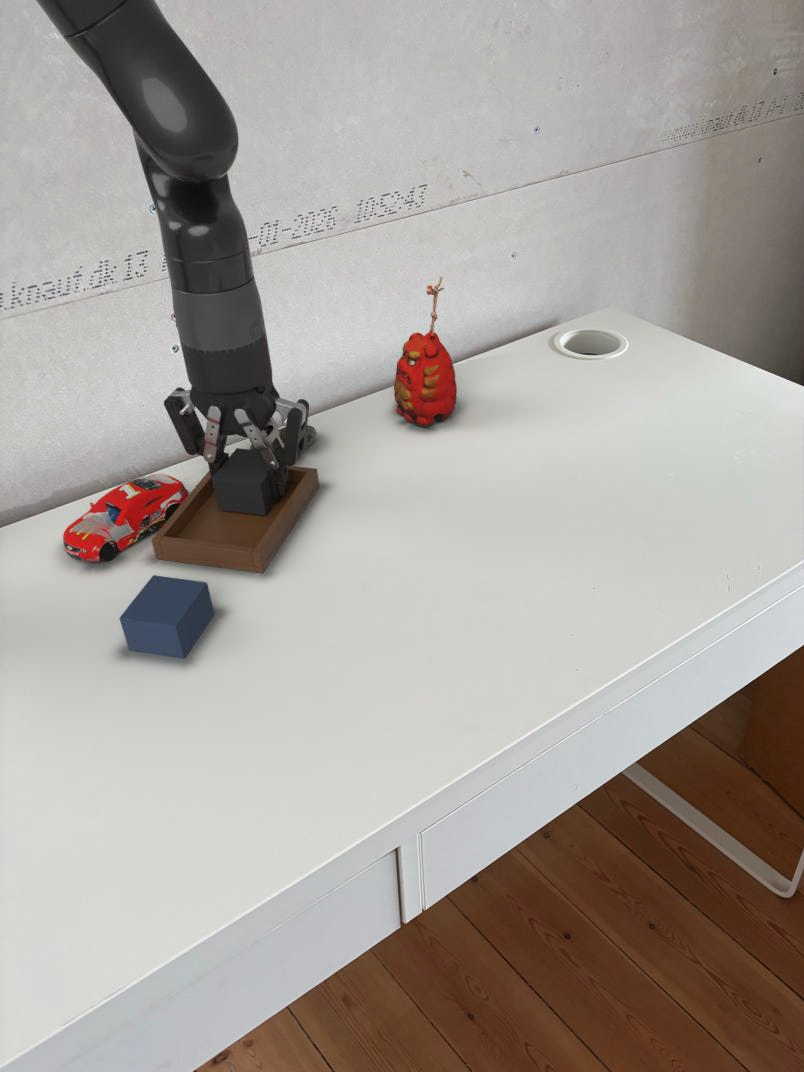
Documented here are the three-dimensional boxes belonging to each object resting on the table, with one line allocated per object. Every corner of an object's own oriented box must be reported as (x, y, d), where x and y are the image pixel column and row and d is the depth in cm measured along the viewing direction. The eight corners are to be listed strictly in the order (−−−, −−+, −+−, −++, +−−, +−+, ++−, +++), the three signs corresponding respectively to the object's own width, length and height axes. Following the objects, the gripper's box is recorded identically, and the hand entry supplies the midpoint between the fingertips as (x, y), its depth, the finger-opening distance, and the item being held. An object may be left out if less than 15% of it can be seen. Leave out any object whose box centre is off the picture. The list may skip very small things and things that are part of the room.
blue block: (128, 650, 84) (118, 618, 82) (162, 606, 89) (153, 574, 86) (184, 659, 83) (175, 626, 81) (214, 614, 88) (207, 582, 86)
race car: (90, 574, 92) (78, 538, 90) (54, 554, 95) (42, 518, 92) (201, 509, 100) (193, 474, 98) (165, 492, 103) (157, 457, 100)
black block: (218, 509, 99) (211, 479, 97) (242, 478, 103) (236, 447, 101) (265, 515, 98) (260, 484, 96) (288, 483, 102) (283, 452, 100)
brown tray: (156, 559, 94) (151, 539, 93) (223, 475, 105) (219, 457, 104) (262, 573, 92) (259, 553, 91) (319, 487, 103) (317, 468, 102)
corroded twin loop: (328, 442, 110) (327, 434, 109) (269, 470, 106) (267, 461, 105) (299, 427, 113) (298, 418, 112) (240, 454, 108) (238, 445, 108)
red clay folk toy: (384, 409, 116) (373, 279, 106) (436, 392, 119) (430, 265, 109) (418, 436, 111) (411, 302, 102) (472, 418, 114) (469, 286, 104)
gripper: (313, 318, 91) (334, 481, 102) (166, 306, 93) (202, 467, 104) (282, 354, 85) (307, 522, 96) (127, 340, 88) (169, 506, 99)
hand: (252, 492), depth 100 cm, fingers closed on black block, 5 cm apart
